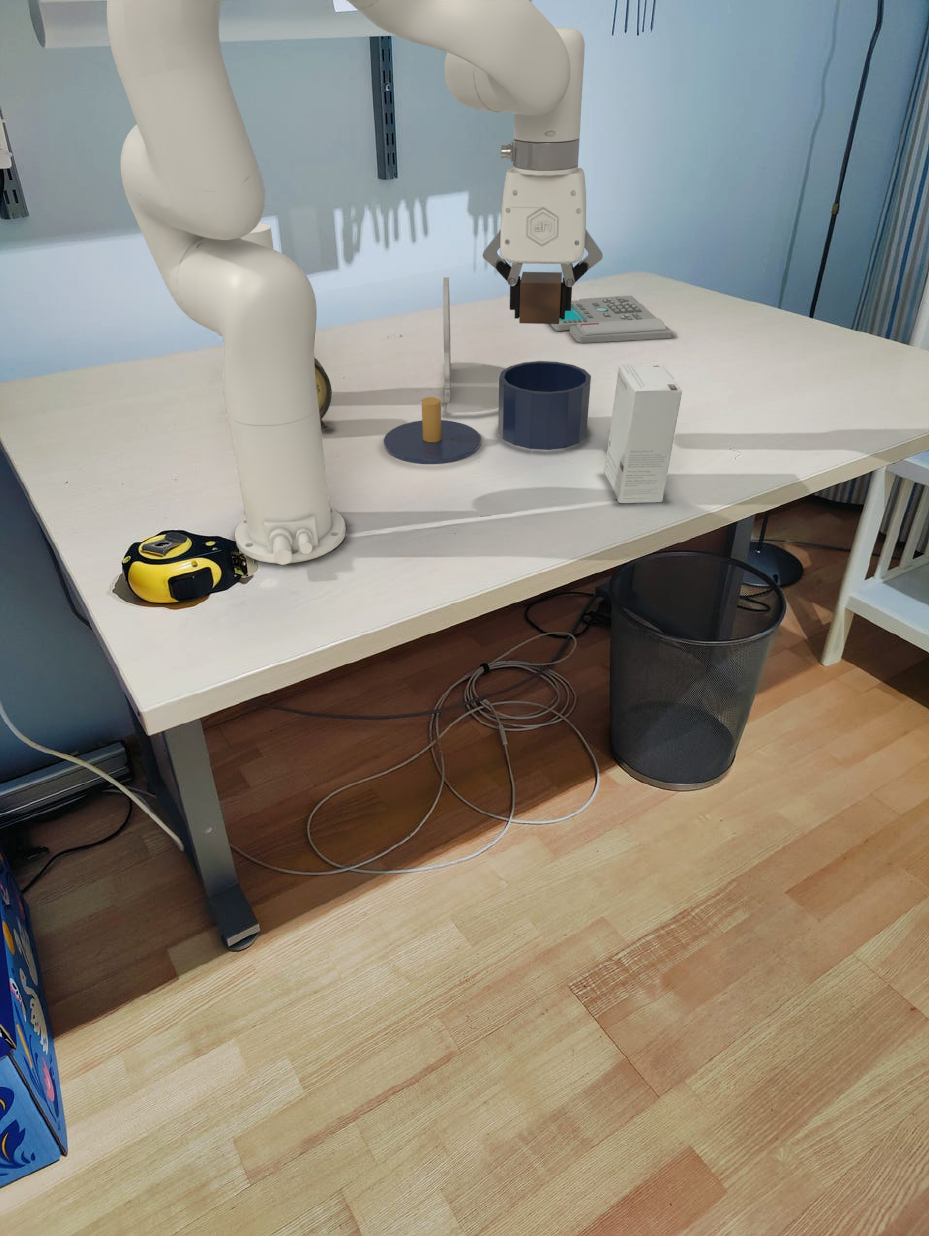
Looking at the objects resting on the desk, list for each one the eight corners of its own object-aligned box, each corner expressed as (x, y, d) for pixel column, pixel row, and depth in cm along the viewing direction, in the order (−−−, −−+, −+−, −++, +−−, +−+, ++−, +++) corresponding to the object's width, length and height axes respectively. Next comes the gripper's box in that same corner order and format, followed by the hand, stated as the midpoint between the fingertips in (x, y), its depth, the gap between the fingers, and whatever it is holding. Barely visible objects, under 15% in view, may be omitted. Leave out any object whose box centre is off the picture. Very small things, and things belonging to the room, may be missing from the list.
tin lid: (491, 461, 116) (492, 414, 112) (393, 473, 114) (390, 425, 110) (467, 423, 127) (467, 378, 123) (377, 432, 124) (373, 387, 120)
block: (560, 312, 113) (562, 272, 110) (559, 324, 109) (561, 282, 106) (521, 311, 113) (522, 271, 110) (519, 323, 109) (520, 282, 106)
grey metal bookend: (446, 365, 146) (444, 261, 137) (524, 364, 146) (527, 260, 137) (445, 416, 129) (442, 301, 119) (534, 415, 129) (538, 300, 119)
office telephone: (675, 324, 156) (568, 331, 153) (673, 338, 158) (567, 346, 155) (632, 288, 174) (535, 294, 172) (630, 301, 176) (535, 307, 173)
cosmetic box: (603, 475, 112) (614, 363, 104) (648, 473, 113) (663, 361, 104) (618, 506, 106) (631, 388, 97) (667, 503, 106) (684, 386, 97)
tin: (599, 447, 119) (604, 388, 114) (512, 457, 117) (514, 397, 112) (569, 413, 129) (572, 357, 124) (489, 422, 127) (489, 365, 122)
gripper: (469, 161, 98) (470, 323, 109) (621, 161, 96) (607, 326, 107) (476, 151, 104) (476, 306, 115) (619, 151, 102) (606, 308, 113)
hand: (540, 314), depth 111 cm, fingers closed on block, 5 cm apart
